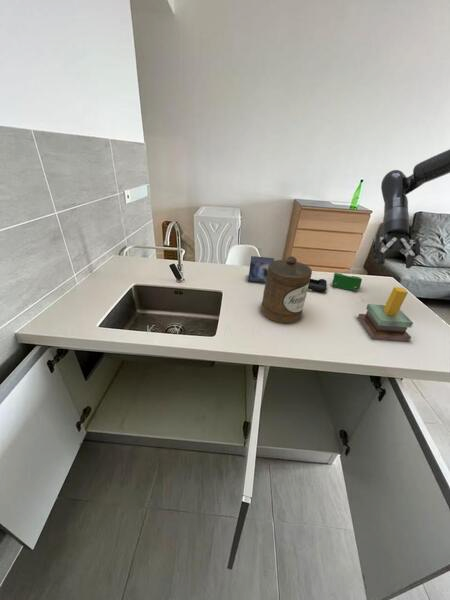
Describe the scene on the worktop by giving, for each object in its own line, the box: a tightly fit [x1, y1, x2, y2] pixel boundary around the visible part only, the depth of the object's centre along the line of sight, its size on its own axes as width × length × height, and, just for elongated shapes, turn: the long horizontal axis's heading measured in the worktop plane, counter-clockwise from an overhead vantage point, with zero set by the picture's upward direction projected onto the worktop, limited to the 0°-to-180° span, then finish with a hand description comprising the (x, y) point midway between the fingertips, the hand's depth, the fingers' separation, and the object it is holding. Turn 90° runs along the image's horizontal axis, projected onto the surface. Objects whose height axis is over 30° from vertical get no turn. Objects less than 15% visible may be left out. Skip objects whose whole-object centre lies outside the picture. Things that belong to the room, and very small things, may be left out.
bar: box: [383, 286, 409, 316], centre depth 79 cm, size 3×3×9 cm
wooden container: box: [260, 256, 313, 324], centre depth 86 cm, size 15×15×22 cm
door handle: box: [307, 278, 328, 293], centre depth 113 cm, size 3×20×16 cm
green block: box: [331, 272, 363, 292], centre depth 111 cm, size 12×6×9 cm, turn 62°
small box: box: [247, 255, 275, 284], centre depth 111 cm, size 11×6×10 cm, turn 83°
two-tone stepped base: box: [357, 303, 414, 342], centre depth 84 cm, size 12×12×7 cm
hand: (395, 266), depth 82 cm, fingers open, 8 cm apart
